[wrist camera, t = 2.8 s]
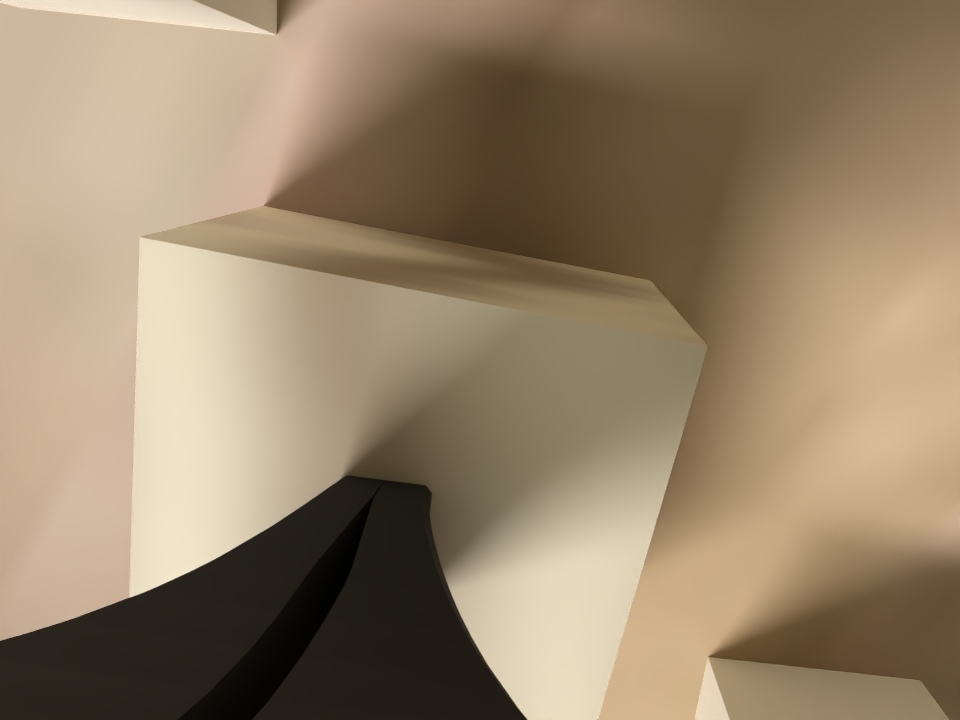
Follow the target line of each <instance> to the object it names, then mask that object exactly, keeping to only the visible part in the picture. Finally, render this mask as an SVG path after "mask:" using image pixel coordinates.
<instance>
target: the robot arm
mask: <svg viewBox="0 0 960 720" xmlns="http://www.w3.org/2000/svg"><path fill="white" fill-rule="evenodd" d="M385 481H386V480H380V479H373V478H365V477H357V476H349V475H347V476H345V477H343V478H342V479H340V480H339V481H337V482H336V483H334V484H333V485H332V486H330V487H329V488H327V489H326V490H324V491H323V492H322V493H320V494H319V495H317V496H316V497H314V498H313V499H311V500H310V501H309V502H307V503H306V504H304V505H303V506H301V507H300V508H298V509H297V510H295V511H294V512H292V513H291V514H289V515H288V516H286V517H285V518H283V519H282V520H280V521H279V522H277V523H276V524H274V525H273V526H271V527H269V528H268V529H266V530H264V531H263V532H261V533H259V534H257V535H256V536H254V537H252V538H251V539H249V540H247V541H245V542H244V543H242V544H240V545H239V546H237V547H235V548H233V549H232V550H230V551H228V552H227V553H225V554H223V555H222V556H220V557H218V558H216V559H214V560H212V561H210V562H208V563H206V564H204V565H202V566H200V567H198V568H196V569H194V570H192V571H190V572H188V573H186V574H184V575H182V576H179V577H177V578H175V579H173V580H171V581H169V582H166V583H164V584H162V585H160V586H158V587H155V588H153V589H151V590H148V591H146V592H144V593H141V594H138V595H136V596H133V597H130V598H128V599H125V600H122V601H120V602H117V603H114V604H112V605H109V606H106V607H104V608H101V609H98V610H96V611H93V612H90V613H88V614H85V615H82V616H80V617H77V618H74V619H71V620H68V621H65V622H62V623H59V624H56V625H52V626H49V627H46V628H43V629H40V630H36V631H33V632H30V633H27V634H23V635H20V636H16V637H12V638H9V639H5V640H2V641H0V720H528V719H527V718H526V717H525V716H524V715H523V713H522V712H521V711H520V710H519V708H518V707H517V706H516V704H515V703H514V701H513V700H512V698H511V697H510V696H509V694H508V693H507V691H506V690H505V688H504V687H503V686H502V684H501V683H500V681H499V680H498V678H497V677H496V676H495V674H494V673H493V671H492V670H491V669H490V667H489V666H488V664H487V663H486V661H485V659H484V658H483V656H482V654H481V652H480V651H479V649H478V647H477V645H476V644H475V642H474V640H473V638H472V637H471V635H470V633H469V631H468V629H467V627H466V625H465V623H464V621H463V619H462V617H461V615H460V613H459V611H458V608H457V606H456V604H455V601H454V599H453V597H452V594H451V592H450V589H449V586H448V584H447V581H446V578H445V576H444V573H443V570H442V567H441V564H440V560H439V557H438V553H437V549H436V545H435V541H434V537H433V533H432V527H431V520H430V509H431V498H432V493H431V491H430V490H429V489H428V487H427V486H426V485H420V484H412V483H404V482H396V481H388V480H387V481H386V482H385Z"/></svg>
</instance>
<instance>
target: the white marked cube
mask: <svg viewBox="0 0 960 720" xmlns="http://www.w3.org/2000/svg"><path fill="white" fill-rule="evenodd" d="M695 720H949V719H948V717H947V716H946V714H945V713H944V712H943V710H942V709H941V708H940V706H939V705H938V703H937V702H936V701H935V699H934V698H933V697H932V695H931V694H930V692H929V691H928V690H927V688H926V687H925V686H924V684H923V683H922V681H921V680H914V679H905V678H896V677H887V676H878V675H869V674H860V673H850V672H841V671H832V670H823V669H814V668H805V667H796V666H786V665H777V664H768V663H759V662H750V661H741V660H732V659H722V658H713V657H708V659H707V664H706V669H705V673H704V678H703V683H702V687H701V692H700V697H699V701H698V706H697V711H696V715H695Z"/></svg>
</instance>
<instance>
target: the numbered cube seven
mask: <svg viewBox="0 0 960 720" xmlns="http://www.w3.org/2000/svg"><path fill="white" fill-rule="evenodd" d="M0 2H1V3H4V4H8V5H12V6H16V7H20V8H28V9H37V10H47V11H56V12H65V13H75V14H84V15H93V16H103V17H112V18H121V19H131V20H140V21H149V22H159V23H168V24H178V25H187V26H196V27H206V28H215V29H224V30H234V31H243V32H252V33H262V34H271V35H277V0H0Z"/></svg>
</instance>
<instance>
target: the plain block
mask: <svg viewBox="0 0 960 720" xmlns="http://www.w3.org/2000/svg"><path fill="white" fill-rule="evenodd" d="M707 349H708V346H707V345H706V343H705V342H704V341H703V340H702V339H701V338H700V337H699V335H698V334H697V333H696V332H695V331H694V330H693V329H692V327H691V326H690V325H689V324H688V323H687V322H686V321H685V319H684V318H683V317H682V316H681V315H680V314H679V313H678V311H677V310H676V309H675V308H674V307H673V306H672V305H671V303H670V302H669V301H668V300H667V299H666V298H665V297H664V295H663V294H662V293H661V292H660V291H659V290H658V289H657V287H656V286H655V285H654V284H653V283H652V282H651V280H646V279H641V278H636V277H630V276H625V275H620V274H615V273H610V272H604V271H599V270H594V269H589V268H584V267H578V266H573V265H568V264H563V263H558V262H552V261H547V260H542V259H537V258H532V257H526V256H521V255H516V254H511V253H506V252H500V251H495V250H490V249H485V248H480V247H474V246H469V245H464V244H459V243H454V242H448V241H443V240H438V239H433V238H428V237H422V236H417V235H412V234H407V233H402V232H396V231H391V230H386V229H381V228H376V227H370V226H365V225H360V224H355V223H350V222H345V221H339V220H334V219H329V218H324V217H319V216H313V215H308V214H303V213H298V212H293V211H287V210H282V209H277V208H272V207H267V206H262V207H258V208H254V209H250V210H246V211H242V212H238V213H234V214H230V215H226V216H222V217H218V218H214V219H210V220H206V221H202V222H198V223H194V224H190V225H186V226H182V227H178V228H174V229H170V230H166V231H162V232H158V233H154V234H150V235H146V236H142V237H140V250H139V284H138V318H137V352H136V386H135V420H134V454H133V488H132V522H131V556H130V590H129V598H130V597H133V596H136V595H138V594H141V593H144V592H146V591H148V590H151V589H153V588H155V587H158V586H160V585H162V584H164V583H166V582H169V581H171V580H173V579H175V578H177V577H179V576H182V575H184V574H186V573H188V572H190V571H192V570H194V569H196V568H198V567H200V566H202V565H204V564H206V563H208V562H210V561H212V560H214V559H216V558H218V557H220V556H222V555H223V554H225V553H227V552H228V551H230V550H232V549H233V548H235V547H237V546H239V545H240V544H242V543H244V542H245V541H247V540H249V539H251V538H252V537H254V536H256V535H257V534H259V533H261V532H263V531H264V530H266V529H268V528H269V527H271V526H273V525H274V524H276V523H277V522H279V521H280V520H282V519H283V518H285V517H286V516H288V515H289V514H291V513H292V512H294V511H295V510H297V509H298V508H300V507H301V506H303V505H304V504H306V503H307V502H309V501H310V500H311V499H313V498H314V497H316V496H317V495H319V494H320V493H322V492H323V491H324V490H326V489H327V488H329V487H330V486H332V485H333V484H334V483H336V482H337V481H339V480H340V479H342V478H343V477H345V476H347V475H349V476H357V477H365V478H373V479H380V480H386V481H387V480H388V481H396V482H404V483H412V484H420V485H426V486H427V487H428V489H429V490H430V491H431V493H432V498H431V509H430V520H431V527H432V533H433V537H434V541H435V545H436V549H437V553H438V557H439V560H440V564H441V567H442V570H443V573H444V576H445V578H446V581H447V584H448V586H449V589H450V592H451V594H452V597H453V599H454V601H455V604H456V606H457V608H458V611H459V613H460V615H461V617H462V619H463V621H464V623H465V625H466V627H467V629H468V631H469V633H470V635H471V637H472V638H473V640H474V642H475V644H476V645H477V647H478V649H479V651H480V652H481V654H482V656H483V658H484V659H485V661H486V663H487V664H488V666H489V667H490V669H491V670H492V671H493V673H494V674H495V676H496V677H497V678H498V680H499V681H500V683H501V684H502V686H503V687H504V688H505V690H506V691H507V693H508V694H509V696H510V697H511V698H512V700H513V701H514V703H515V704H516V706H517V707H518V708H519V710H520V711H521V712H522V713H523V715H524V716H525V717H526V718H527V719H528V720H598V717H599V714H600V710H601V707H602V704H603V700H604V697H605V694H606V690H607V687H608V683H609V680H610V677H611V673H612V670H613V667H614V663H615V660H616V656H617V653H618V650H619V646H620V643H621V640H622V636H623V633H624V629H625V626H626V623H627V619H628V616H629V613H630V609H631V606H632V602H633V599H634V596H635V592H636V589H637V586H638V582H639V579H640V575H641V572H642V569H643V565H644V562H645V559H646V555H647V552H648V548H649V545H650V542H651V538H652V535H653V532H654V528H655V525H656V521H657V518H658V515H659V511H660V508H661V505H662V501H663V498H664V494H665V491H666V488H667V484H668V481H669V478H670V474H671V471H672V467H673V464H674V461H675V457H676V454H677V451H678V447H679V444H680V440H681V437H682V434H683V430H684V427H685V424H686V420H687V417H688V413H689V410H690V407H691V403H692V400H693V397H694V393H695V390H696V386H697V383H698V380H699V376H700V373H701V369H702V366H703V363H704V359H705V356H706V353H707ZM386 481H385V482H386Z"/></svg>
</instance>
